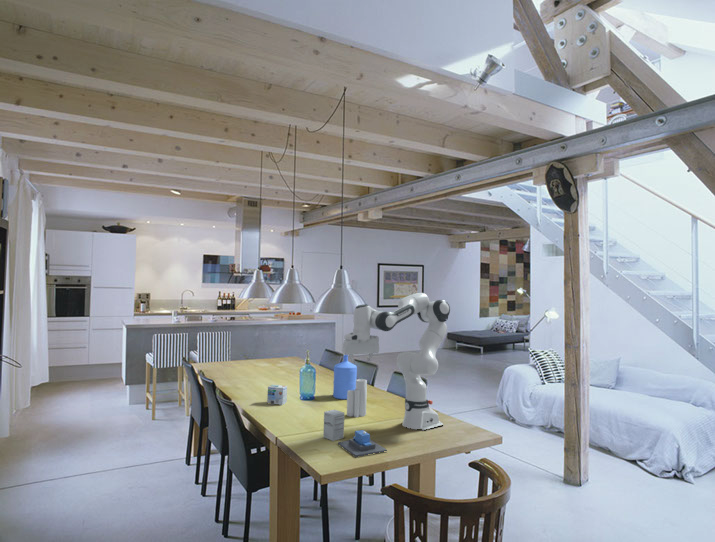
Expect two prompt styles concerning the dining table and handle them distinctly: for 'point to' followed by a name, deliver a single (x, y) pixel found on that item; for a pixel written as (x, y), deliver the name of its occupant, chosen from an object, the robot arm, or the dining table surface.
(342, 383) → the water jug
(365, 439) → the servo block
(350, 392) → the white cylinder cluster
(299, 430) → the dining table surface
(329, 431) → the supplement box
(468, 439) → the dining table surface
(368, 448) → the plate
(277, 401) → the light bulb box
